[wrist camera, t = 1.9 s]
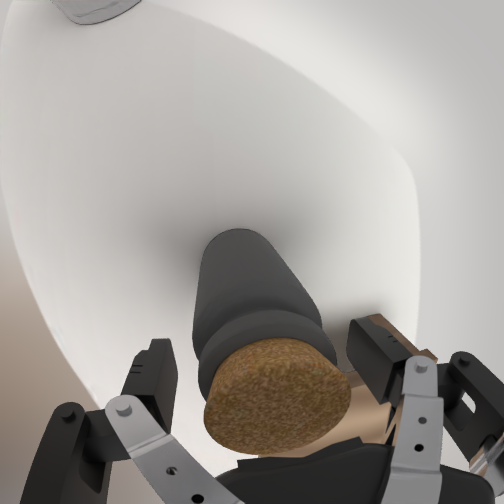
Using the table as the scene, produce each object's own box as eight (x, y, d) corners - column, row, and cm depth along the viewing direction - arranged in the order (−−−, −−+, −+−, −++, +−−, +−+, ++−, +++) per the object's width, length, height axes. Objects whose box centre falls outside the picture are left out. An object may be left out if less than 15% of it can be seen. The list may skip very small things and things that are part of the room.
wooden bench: (243, 330, 23) (258, 406, 15) (383, 309, 25) (438, 358, 16) (250, 426, 27) (261, 489, 19) (360, 403, 29) (390, 454, 20)
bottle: (238, 211, 20) (290, 303, 6) (290, 262, 22) (394, 393, 8) (186, 266, 21) (146, 424, 7) (240, 311, 23) (274, 474, 8)
